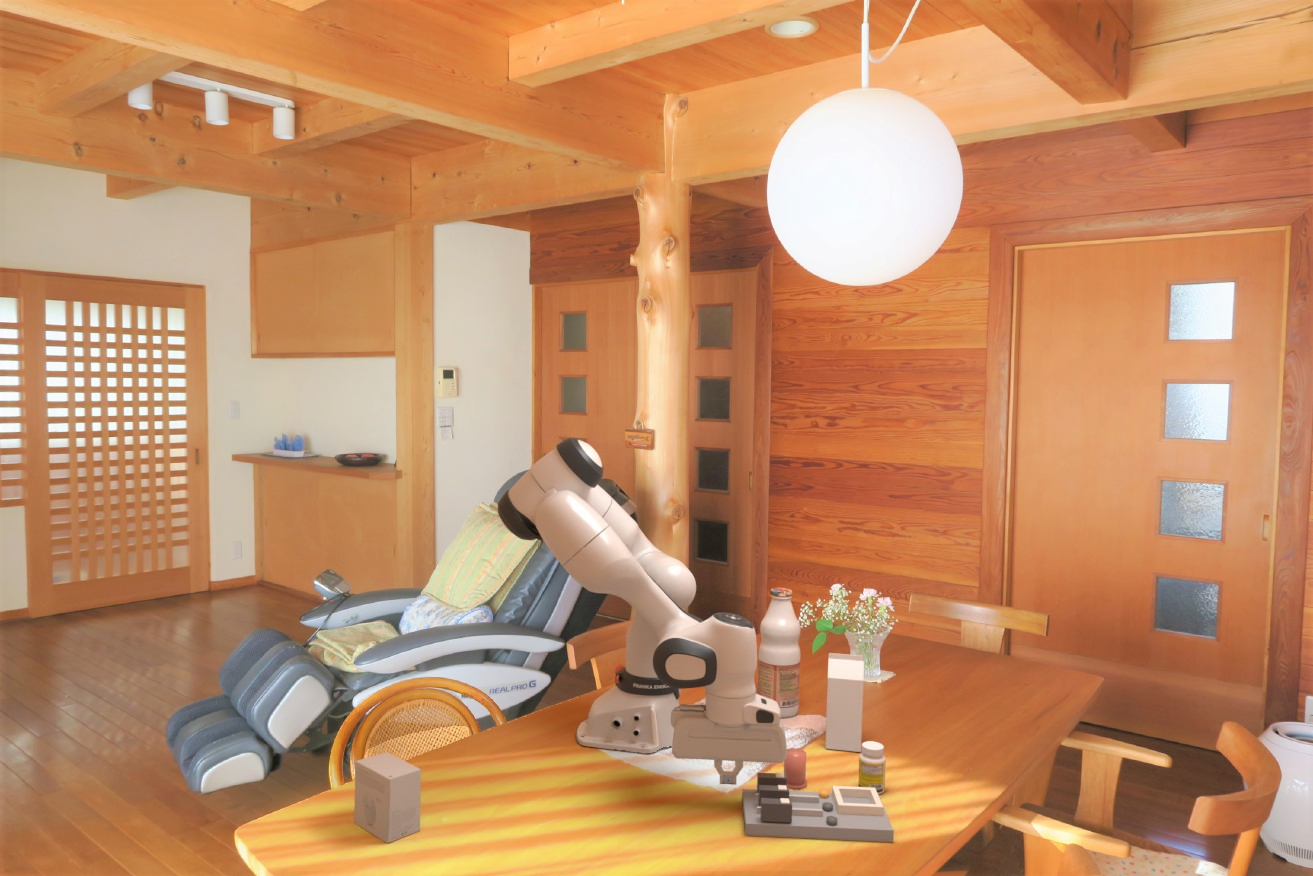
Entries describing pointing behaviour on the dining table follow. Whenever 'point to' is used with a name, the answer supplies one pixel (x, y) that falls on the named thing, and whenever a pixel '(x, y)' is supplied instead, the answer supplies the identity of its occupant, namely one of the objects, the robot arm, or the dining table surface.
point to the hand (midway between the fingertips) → (727, 783)
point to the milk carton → (844, 702)
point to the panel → (824, 815)
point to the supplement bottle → (872, 766)
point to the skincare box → (387, 796)
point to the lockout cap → (795, 769)
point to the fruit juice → (780, 653)
